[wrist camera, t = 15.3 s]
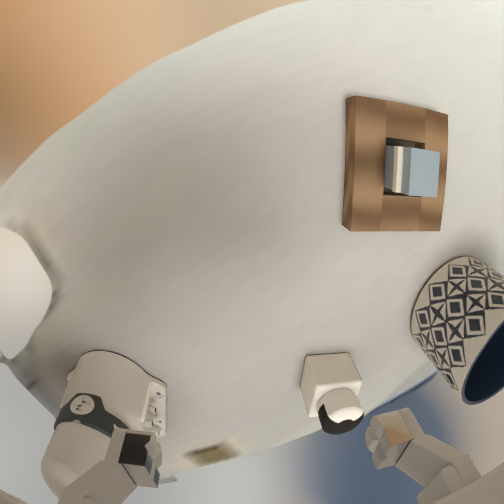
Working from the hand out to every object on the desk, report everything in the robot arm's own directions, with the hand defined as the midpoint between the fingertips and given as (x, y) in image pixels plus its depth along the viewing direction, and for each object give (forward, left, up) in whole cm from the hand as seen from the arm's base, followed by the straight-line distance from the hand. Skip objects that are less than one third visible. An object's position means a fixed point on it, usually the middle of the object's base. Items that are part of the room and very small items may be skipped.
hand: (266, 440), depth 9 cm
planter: (-14, -36, -29) cm, 48 cm away
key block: (+8, -19, -28) cm, 35 cm away
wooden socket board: (+8, -20, -29) cm, 36 cm away
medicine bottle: (-24, -13, -29) cm, 40 cm away
